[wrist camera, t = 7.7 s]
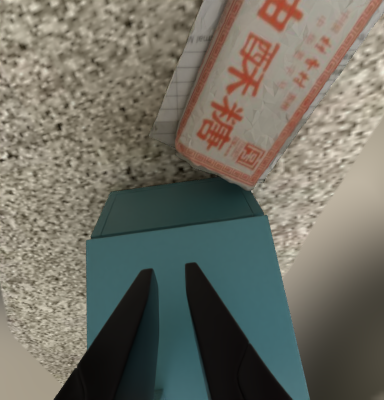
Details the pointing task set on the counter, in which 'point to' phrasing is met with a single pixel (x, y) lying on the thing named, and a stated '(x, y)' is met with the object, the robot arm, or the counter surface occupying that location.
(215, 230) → the freezer lid
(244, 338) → the robot arm
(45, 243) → the counter surface
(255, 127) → the packaged product
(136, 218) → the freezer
